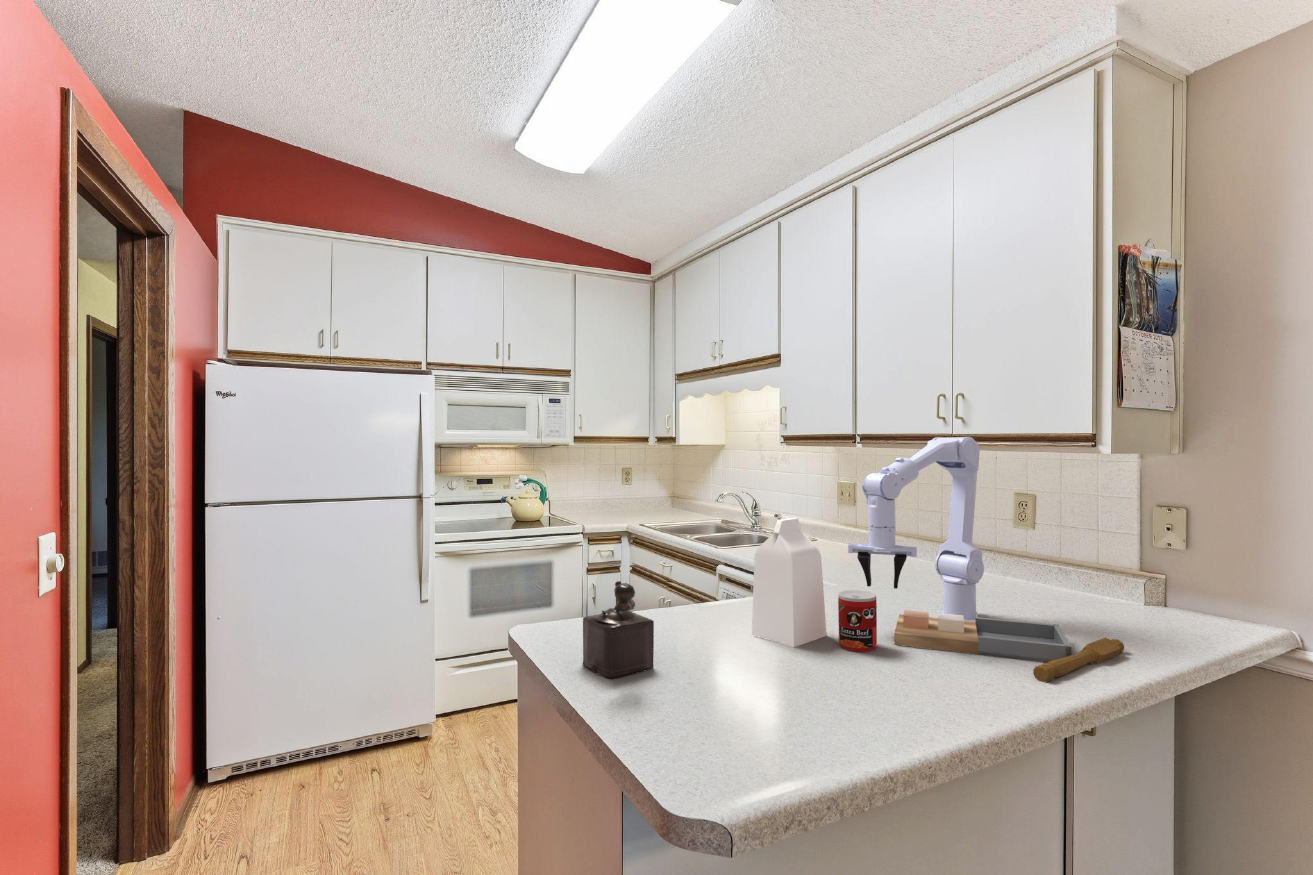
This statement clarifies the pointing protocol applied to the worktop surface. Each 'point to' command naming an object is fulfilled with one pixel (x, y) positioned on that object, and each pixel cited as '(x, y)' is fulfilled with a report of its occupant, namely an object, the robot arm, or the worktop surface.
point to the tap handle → (1079, 659)
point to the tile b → (950, 623)
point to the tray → (1021, 640)
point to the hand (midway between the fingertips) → (882, 586)
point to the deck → (938, 637)
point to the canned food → (857, 620)
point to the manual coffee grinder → (618, 638)
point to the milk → (788, 587)
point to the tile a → (916, 619)
